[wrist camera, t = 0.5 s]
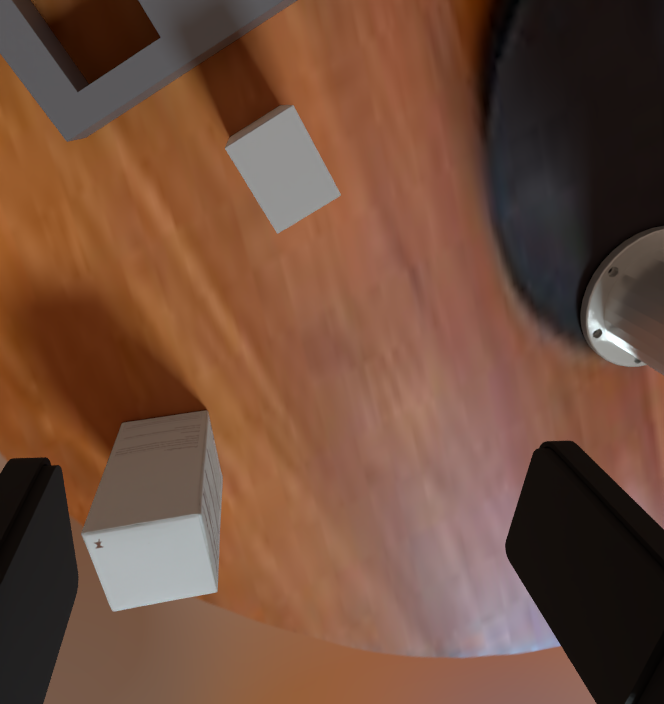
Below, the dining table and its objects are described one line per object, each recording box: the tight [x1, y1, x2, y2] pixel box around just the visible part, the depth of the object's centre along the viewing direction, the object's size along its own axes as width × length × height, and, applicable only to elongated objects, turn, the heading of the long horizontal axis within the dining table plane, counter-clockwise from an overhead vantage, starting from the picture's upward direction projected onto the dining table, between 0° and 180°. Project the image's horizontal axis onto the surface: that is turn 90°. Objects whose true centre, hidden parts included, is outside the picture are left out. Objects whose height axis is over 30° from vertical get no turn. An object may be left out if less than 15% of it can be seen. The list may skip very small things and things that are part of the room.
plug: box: [225, 105, 341, 234], centre depth 31 cm, size 4×5×10 cm
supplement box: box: [81, 410, 223, 611], centre depth 39 cm, size 7×7×13 cm
